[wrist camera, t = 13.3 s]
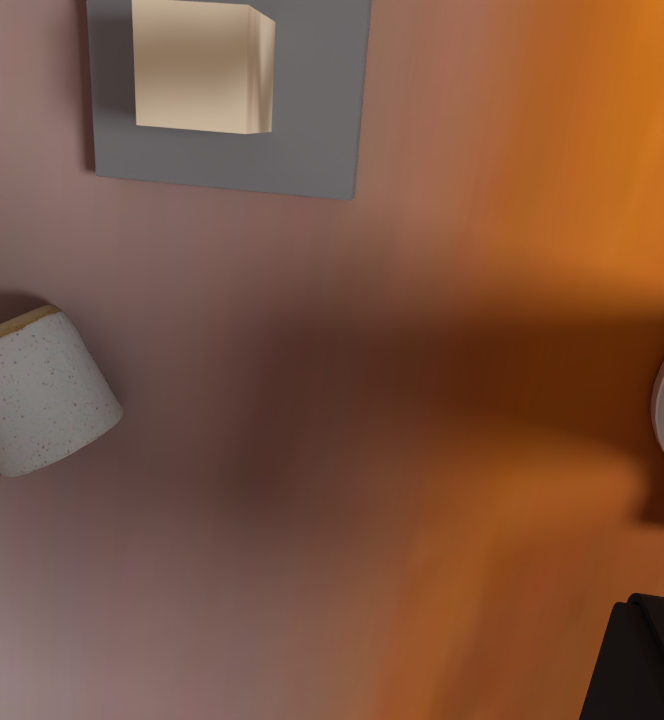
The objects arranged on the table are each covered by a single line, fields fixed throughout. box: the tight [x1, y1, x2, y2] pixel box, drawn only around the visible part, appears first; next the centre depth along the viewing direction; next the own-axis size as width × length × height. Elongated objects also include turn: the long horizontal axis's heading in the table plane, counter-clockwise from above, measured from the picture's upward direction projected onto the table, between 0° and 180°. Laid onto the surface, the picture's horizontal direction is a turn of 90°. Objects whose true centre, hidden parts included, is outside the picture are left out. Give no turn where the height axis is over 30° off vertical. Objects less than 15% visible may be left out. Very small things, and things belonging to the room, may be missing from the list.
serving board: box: [86, 0, 372, 201], centre depth 33 cm, size 11×14×2 cm
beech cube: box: [132, 0, 275, 134], centre depth 29 cm, size 5×5×5 cm
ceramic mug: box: [0, 305, 124, 478], centre depth 38 cm, size 11×8×8 cm
